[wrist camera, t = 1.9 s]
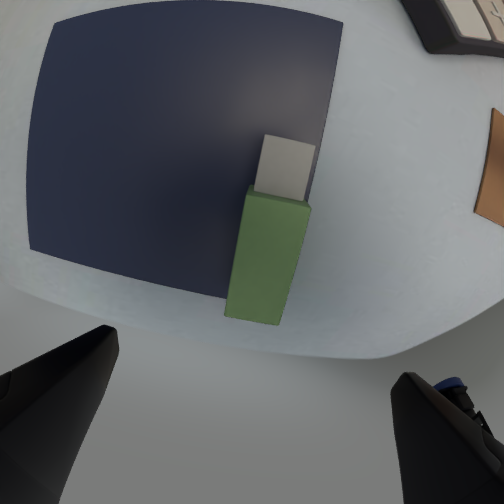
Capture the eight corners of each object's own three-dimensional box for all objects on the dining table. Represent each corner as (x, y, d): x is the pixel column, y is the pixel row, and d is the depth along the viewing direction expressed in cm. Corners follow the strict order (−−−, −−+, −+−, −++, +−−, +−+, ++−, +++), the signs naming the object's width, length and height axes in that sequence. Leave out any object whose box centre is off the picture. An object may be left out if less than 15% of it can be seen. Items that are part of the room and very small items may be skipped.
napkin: (278, 306, 19) (279, 308, 19) (32, 247, 19) (29, 249, 19) (342, 24, 12) (343, 22, 12) (56, 23, 11) (54, 23, 11)
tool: (276, 295, 19) (278, 326, 16) (230, 287, 19) (223, 316, 15) (313, 147, 15) (326, 147, 12) (259, 134, 15) (258, 131, 12)
